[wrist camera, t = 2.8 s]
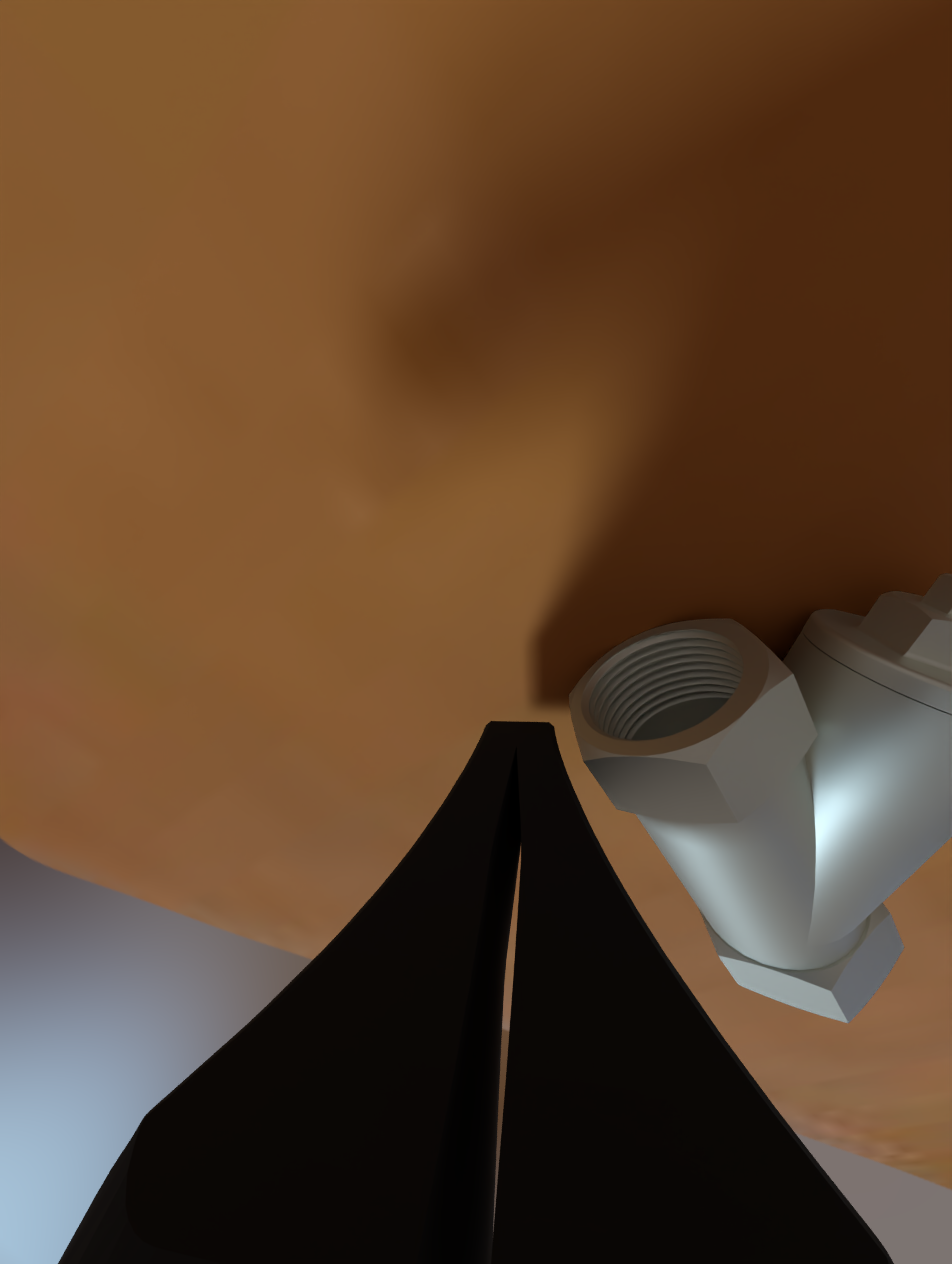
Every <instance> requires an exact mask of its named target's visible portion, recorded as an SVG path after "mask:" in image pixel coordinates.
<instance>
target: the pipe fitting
mask: <svg viewBox="0 0 952 1264" xmlns="http://www.w3.org/2000/svg"><path fill="white" fill-rule="evenodd" d="M569 706H570V712H571V718H572V723H573V727H574V731H575V735H576V738H577V742H578V745H579V748H580V752H581V755H582V758H583V761H584V763H585V764H586V766H587V767H588V768H589V770H590V771H591V773H592V774H593V776H594V777H595V778H596V780H597V781H598V783H599V784H600V786H601V787H602V789H603V790H604V791H605V793H606V794H607V796H608V797H609V799H610V800H611V802H612V803H613V804H614V806H615V807H616V809H618V810H622V811H626V812H630V813H634V814H636V815H637V817H638V818H639V820H640V821H641V823H642V824H643V826H644V827H645V829H646V830H647V832H648V833H649V835H650V836H651V838H652V839H653V841H654V842H655V843H656V845H657V846H658V848H659V849H660V851H661V852H662V854H663V855H664V857H665V858H666V860H667V861H668V863H669V864H670V866H671V867H672V869H673V870H674V872H675V873H676V875H677V876H678V878H679V879H680V881H681V882H682V884H683V885H684V887H685V888H686V890H687V891H688V893H689V894H690V896H691V897H692V898H693V900H694V901H695V903H696V904H697V906H698V908H699V910H700V913H701V915H702V918H703V920H704V923H705V925H706V928H707V930H708V933H709V935H710V937H711V940H712V942H713V944H714V947H715V949H716V952H717V954H718V956H719V957H720V959H721V960H722V962H723V963H724V965H725V966H726V968H727V969H728V970H729V972H730V973H731V975H732V976H733V978H734V979H735V981H736V982H737V983H738V985H740V986H743V987H745V988H747V989H750V990H752V991H755V992H757V993H759V994H762V995H764V996H767V997H769V998H772V999H775V1000H777V1001H780V1002H782V1003H785V1004H788V1005H790V1006H793V1007H796V1008H799V1009H802V1010H805V1011H809V1012H812V1013H815V1014H818V1015H821V1016H825V1017H828V1018H832V1019H835V1020H839V1021H842V1022H846V1023H849V1022H850V1021H851V1020H852V1019H853V1018H854V1017H855V1016H856V1015H857V1014H858V1013H859V1012H860V1010H861V1009H862V1008H863V1007H864V1006H865V1005H866V1004H867V1002H868V1001H869V1000H870V999H871V997H872V996H873V995H874V994H875V992H876V991H877V990H878V989H879V987H880V986H881V984H882V983H883V981H884V980H885V978H886V977H887V975H888V974H889V972H890V971H891V969H892V968H893V966H894V964H895V963H896V961H897V959H898V957H899V956H900V954H901V952H902V951H903V949H904V946H903V943H902V941H901V938H900V936H899V934H898V931H897V929H896V926H895V924H894V921H893V919H892V916H891V914H890V912H889V911H888V909H887V908H886V907H885V905H884V904H883V903H882V902H884V901H885V900H886V899H887V898H888V897H889V896H890V895H891V894H892V893H893V892H894V891H895V890H896V889H897V888H898V887H899V886H900V885H901V884H902V883H904V882H905V881H906V880H907V879H908V878H909V877H910V876H911V875H912V874H913V873H914V872H915V871H916V870H917V869H918V868H919V867H920V866H921V865H923V864H924V863H925V862H926V861H927V860H928V859H929V858H930V857H931V856H932V855H933V854H934V853H935V852H936V851H937V850H938V849H939V848H940V847H942V846H943V845H944V844H945V843H946V842H947V841H948V840H949V839H950V838H951V837H952V574H948V573H945V574H941V575H939V577H938V578H937V579H936V581H935V582H934V584H933V585H932V586H931V588H930V589H929V590H928V592H927V593H926V594H925V596H920V595H916V594H911V593H907V592H901V591H891V592H887V593H884V594H881V595H880V596H879V598H878V599H877V601H876V602H875V604H874V605H873V607H872V608H871V610H870V611H869V613H868V614H867V615H866V617H864V616H860V615H856V614H851V613H847V612H843V611H839V610H834V609H821V610H817V611H815V612H813V613H812V614H811V616H810V617H809V619H808V621H807V622H806V624H805V625H804V627H803V630H802V631H801V633H800V634H799V636H798V638H797V639H796V641H795V642H794V644H793V646H792V647H791V649H790V650H789V652H788V654H787V655H786V657H785V658H784V660H783V661H781V660H780V659H779V658H778V657H777V656H776V655H775V654H774V653H773V652H772V651H771V650H770V649H769V648H768V647H767V646H766V645H765V644H764V643H763V642H762V641H761V640H760V639H759V638H757V637H756V636H755V635H754V634H753V633H752V632H750V631H749V630H748V629H746V628H745V627H744V626H743V625H741V624H740V623H738V622H736V621H735V620H733V619H731V618H727V619H698V620H689V621H682V622H676V623H671V624H667V625H663V626H660V627H656V628H653V629H650V630H648V631H645V632H643V633H640V634H638V635H636V636H634V637H632V638H630V639H628V640H626V641H624V642H622V643H621V644H619V645H617V646H616V647H614V648H613V649H612V650H610V651H609V652H607V653H606V654H605V655H604V656H602V657H601V658H600V659H599V660H598V661H597V662H596V663H595V664H594V665H593V666H592V667H591V668H590V669H589V670H588V671H587V672H586V673H585V674H584V675H583V677H582V678H581V679H580V680H579V682H578V683H577V684H576V686H575V687H574V689H573V690H572V691H571V693H570V694H569Z"/></svg>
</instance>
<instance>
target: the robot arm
mask: <svg viewBox="0 0 952 1264" xmlns="http://www.w3.org/2000/svg"><path fill="white" fill-rule="evenodd" d="M520 846H521V870H520V886H519V903H518V918H517V933H516V948H515V963H514V978H513V991H512V1005H511V1018H510V1032H509V1045H508V1060H507V1072H506V1085H505V1097H504V1109H503V1122H502V1123H503V1124H502V1134H501V1146H500V1159H499V1171H498V1184H497V1197H496V1208H495V1220H494V1232H493V1217H494V1193H495V1169H496V1145H497V1122H498V1100H499V1079H500V1078H499V1077H500V1056H501V1035H502V1016H503V996H504V979H505V969H506V958H507V949H508V941H509V933H510V926H511V918H512V910H513V902H514V894H515V886H516V878H517V870H518V862H519V855H520ZM58 1264H894V1263H893V1261H892V1259H891V1258H890V1256H889V1254H888V1252H887V1251H886V1249H885V1248H884V1246H883V1245H882V1244H881V1242H880V1241H879V1239H878V1238H877V1237H876V1235H875V1234H874V1233H873V1232H872V1230H871V1229H870V1228H869V1226H868V1225H867V1224H866V1223H865V1221H864V1220H863V1219H862V1218H861V1216H860V1215H859V1214H858V1213H857V1211H856V1210H855V1209H854V1207H853V1206H852V1205H851V1204H850V1202H849V1201H848V1200H847V1199H846V1197H845V1196H844V1195H843V1194H842V1192H841V1191H840V1190H839V1189H838V1187H837V1186H836V1185H835V1184H834V1182H833V1181H832V1180H831V1179H830V1177H829V1176H828V1175H827V1173H826V1172H825V1171H824V1170H823V1169H822V1167H821V1166H820V1165H819V1163H818V1162H817V1161H816V1160H815V1158H814V1157H813V1156H812V1154H811V1153H810V1152H809V1151H808V1149H807V1148H806V1147H805V1145H804V1144H803V1143H802V1142H801V1140H800V1139H799V1138H798V1136H797V1135H796V1134H795V1132H794V1131H793V1130H792V1128H791V1127H790V1126H789V1125H788V1123H787V1122H786V1121H785V1119H784V1118H783V1117H782V1116H781V1114H780V1113H779V1112H778V1110H777V1109H776V1108H775V1106H774V1105H773V1104H772V1103H771V1101H770V1100H769V1099H768V1097H767V1096H766V1094H765V1093H764V1092H763V1090H762V1089H761V1088H760V1086H759V1085H758V1084H757V1082H756V1081H755V1080H754V1078H753V1077H752V1076H751V1074H750V1073H749V1072H748V1070H747V1069H746V1068H745V1066H744V1065H743V1063H742V1062H741V1061H740V1059H739V1058H738V1057H737V1055H736V1054H735V1053H734V1051H733V1050H732V1049H731V1047H730V1046H729V1045H728V1043H727V1042H726V1041H725V1039H724V1038H723V1037H722V1035H721V1034H720V1032H719V1031H718V1029H717V1028H716V1026H715V1025H714V1024H713V1022H712V1021H711V1019H710V1018H709V1016H708V1015H707V1014H706V1012H705V1011H704V1009H703V1008H702V1006H701V1005H700V1003H699V1002H698V1001H697V999H696V998H695V996H694V995H693V993H692V992H691V990H690V989H689V988H688V986H687V985H686V983H685V982H684V980H683V979H682V977H681V976H680V975H679V973H678V972H677V970H676V969H675V967H674V966H673V965H672V963H671V962H670V960H669V959H668V957H667V956H666V954H665V953H664V951H663V950H662V948H661V947H660V945H659V943H658V942H657V940H656V939H655V937H654V936H653V934H652V932H651V931H650V929H649V928H648V926H647V925H646V923H645V921H644V920H643V918H642V917H641V915H640V914H639V912H638V910H637V909H636V907H635V905H634V904H633V902H632V900H631V899H630V897H629V895H628V894H627V892H626V890H625V889H624V887H623V885H622V883H621V882H620V880H619V878H618V876H617V875H616V873H615V871H614V869H613V868H612V866H611V864H610V862H609V860H608V859H607V857H606V855H605V853H604V851H603V849H602V847H601V845H600V843H599V841H598V839H597V838H596V836H595V834H594V832H593V830H592V828H591V826H590V824H589V822H588V820H587V817H586V815H585V813H584V811H583V809H582V807H581V804H580V802H579V800H578V798H577V795H576V793H575V791H574V789H573V786H572V784H571V781H570V779H569V777H568V774H567V771H566V769H565V766H564V763H563V760H562V757H561V754H560V751H559V748H558V744H557V740H556V736H555V730H554V726H552V725H551V724H550V723H549V722H507V721H491V722H489V723H488V724H487V725H486V727H485V729H484V731H483V734H482V736H481V738H480V740H479V742H478V744H477V746H476V748H475V750H474V752H473V754H472V756H471V757H470V759H469V761H468V763H467V765H466V766H465V768H464V770H463V772H462V773H461V775H460V777H459V778H458V780H457V781H456V783H455V785H454V786H453V788H452V790H451V791H450V793H449V794H448V796H447V798H446V799H445V801H444V802H443V804H442V805H441V807H440V808H439V810H438V811H437V813H436V814H435V815H434V817H433V818H432V820H431V821H430V823H429V824H428V825H427V827H426V828H425V830H424V831H423V833H422V834H421V836H420V837H419V838H418V840H417V841H416V842H415V844H414V845H413V846H412V848H411V849H410V850H409V852H408V853H407V854H406V856H405V857H404V858H403V859H402V861H401V862H400V863H399V864H398V866H397V867H396V868H395V869H394V871H393V872H392V873H391V874H390V876H389V877H388V878H387V879H386V880H385V882H384V883H383V884H382V885H381V886H380V888H379V889H378V890H377V891H376V892H375V893H374V895H373V896H372V897H371V898H370V899H369V900H368V901H367V903H366V904H365V905H364V906H363V907H362V908H361V909H360V910H359V912H358V913H357V914H356V915H355V916H354V917H353V918H352V919H351V921H350V922H349V923H348V924H347V925H346V926H345V927H344V928H343V929H342V930H341V932H340V933H339V934H338V935H337V936H336V937H335V938H334V939H333V940H332V941H331V942H330V943H329V944H328V945H327V946H326V947H325V948H324V950H323V951H322V952H321V953H320V954H319V955H318V956H316V957H315V958H314V959H313V960H312V961H311V962H310V964H308V965H307V966H306V967H305V968H304V969H303V971H301V972H300V973H299V974H298V975H297V976H296V977H295V978H294V979H293V980H292V982H290V983H289V984H288V985H287V986H286V987H285V988H284V989H283V990H282V991H281V992H280V993H279V994H278V995H277V996H276V997H275V998H274V999H273V1000H272V1001H271V1002H270V1003H269V1004H268V1005H267V1006H266V1007H265V1008H264V1009H263V1010H262V1011H261V1012H260V1013H259V1014H257V1015H256V1017H254V1018H253V1019H252V1020H251V1021H250V1022H249V1023H248V1024H247V1025H246V1026H245V1027H244V1028H242V1029H241V1030H240V1031H239V1032H238V1033H237V1034H236V1035H235V1036H233V1038H231V1039H230V1040H229V1041H228V1042H227V1043H226V1044H225V1045H223V1046H222V1047H221V1048H220V1049H219V1050H218V1051H217V1052H215V1053H214V1054H213V1055H212V1056H211V1057H210V1058H209V1059H208V1060H206V1061H205V1062H204V1063H203V1064H202V1065H201V1066H200V1067H199V1068H198V1069H196V1070H195V1071H194V1072H193V1073H192V1074H191V1075H190V1076H189V1077H187V1078H186V1079H185V1080H184V1081H183V1082H182V1083H181V1084H180V1085H178V1086H177V1087H176V1088H175V1089H174V1090H173V1091H172V1092H171V1093H170V1094H168V1095H167V1096H166V1097H165V1098H164V1099H163V1100H161V1101H160V1102H159V1103H158V1104H157V1105H156V1106H155V1107H154V1108H153V1109H152V1110H150V1111H149V1112H148V1114H146V1116H145V1117H144V1118H143V1120H142V1121H141V1123H140V1125H139V1127H138V1128H137V1130H136V1131H135V1133H134V1135H133V1137H132V1138H131V1140H130V1141H129V1143H128V1144H127V1146H126V1148H125V1149H124V1150H123V1152H122V1153H121V1155H120V1156H119V1158H118V1159H117V1161H116V1163H115V1164H114V1166H113V1167H112V1169H111V1170H110V1172H109V1174H108V1176H107V1177H106V1179H105V1181H104V1183H103V1184H102V1186H101V1188H100V1189H99V1191H98V1193H97V1194H96V1196H95V1198H94V1200H93V1202H92V1204H91V1205H90V1207H89V1209H88V1211H87V1212H86V1214H85V1216H84V1218H83V1220H82V1222H81V1223H80V1225H79V1227H78V1229H77V1230H76V1232H75V1234H74V1236H73V1238H72V1239H71V1241H70V1243H69V1245H68V1247H67V1249H66V1250H65V1252H64V1254H63V1256H62V1257H61V1259H60V1261H59V1263H58Z"/></svg>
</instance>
